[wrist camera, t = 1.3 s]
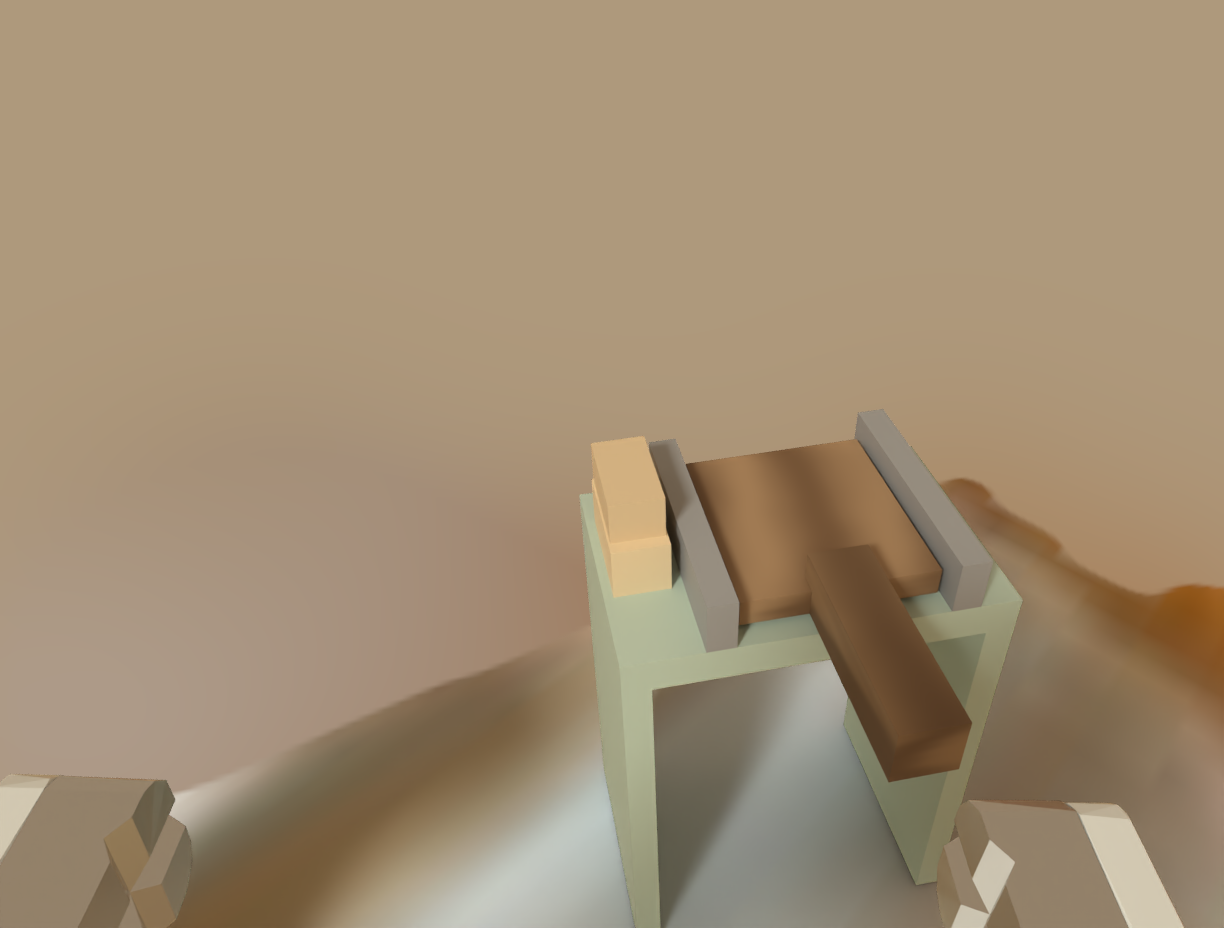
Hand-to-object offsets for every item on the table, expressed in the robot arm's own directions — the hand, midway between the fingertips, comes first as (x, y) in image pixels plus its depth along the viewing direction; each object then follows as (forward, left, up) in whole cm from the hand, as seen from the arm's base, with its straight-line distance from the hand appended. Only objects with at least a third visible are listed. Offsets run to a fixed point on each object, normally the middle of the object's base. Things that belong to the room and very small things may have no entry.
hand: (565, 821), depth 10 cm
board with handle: (+15, +25, -25) cm, 38 cm away
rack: (+14, +30, -51) cm, 61 cm away
